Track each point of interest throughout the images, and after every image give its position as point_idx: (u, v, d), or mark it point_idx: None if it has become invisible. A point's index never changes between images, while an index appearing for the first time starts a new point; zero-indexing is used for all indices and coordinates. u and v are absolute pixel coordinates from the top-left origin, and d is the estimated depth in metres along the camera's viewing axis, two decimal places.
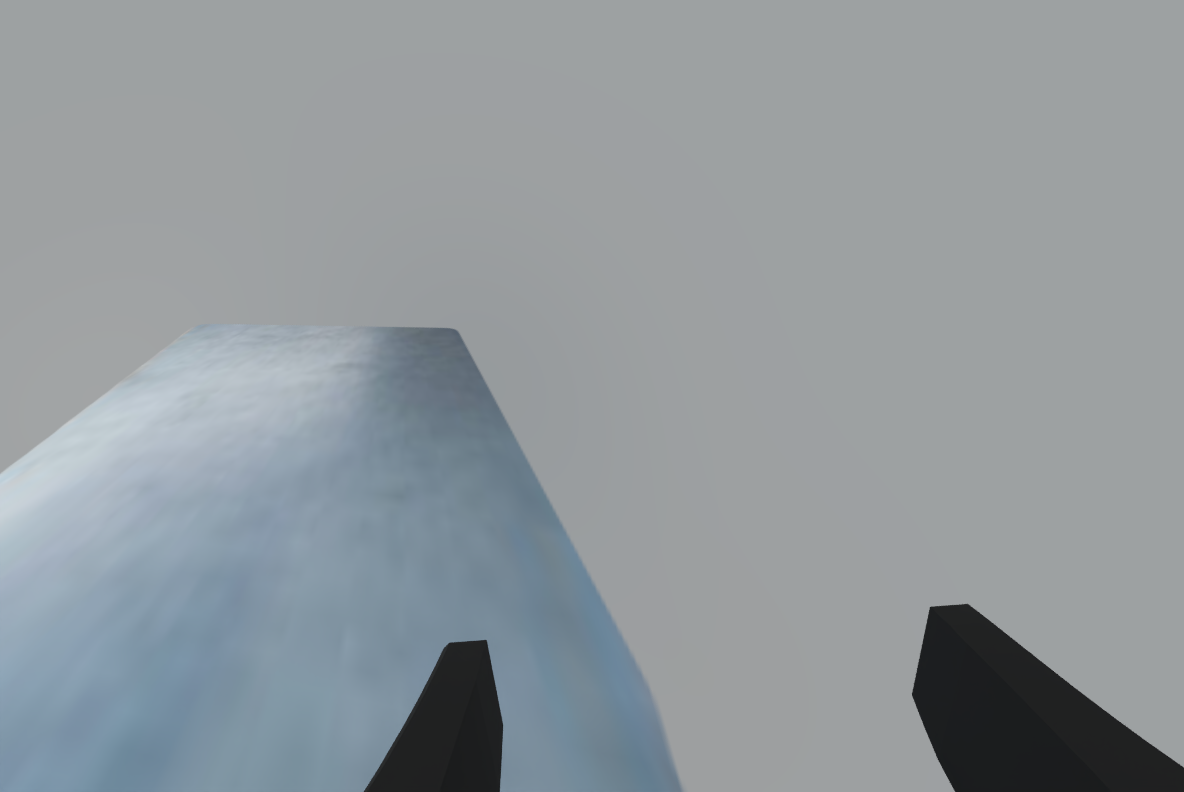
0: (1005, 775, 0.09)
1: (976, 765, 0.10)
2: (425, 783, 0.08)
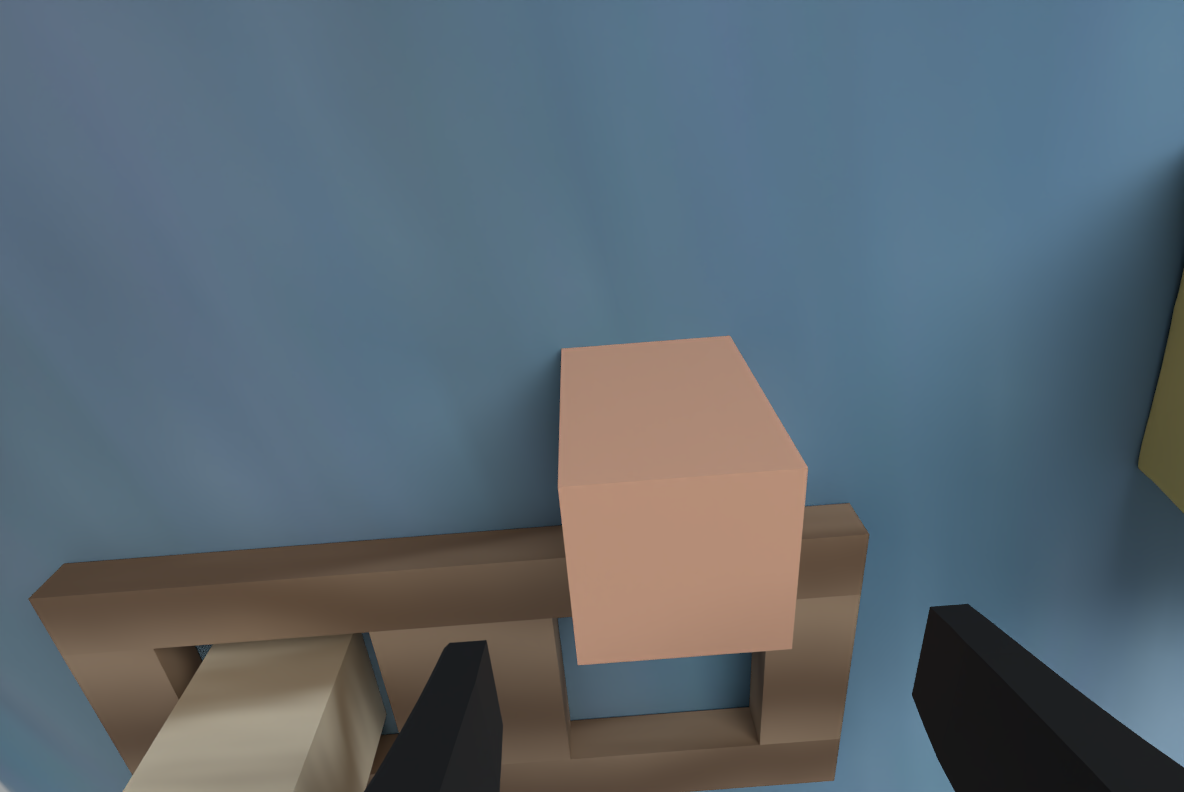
0: (1005, 775, 0.09)
1: (976, 765, 0.10)
2: (425, 783, 0.08)
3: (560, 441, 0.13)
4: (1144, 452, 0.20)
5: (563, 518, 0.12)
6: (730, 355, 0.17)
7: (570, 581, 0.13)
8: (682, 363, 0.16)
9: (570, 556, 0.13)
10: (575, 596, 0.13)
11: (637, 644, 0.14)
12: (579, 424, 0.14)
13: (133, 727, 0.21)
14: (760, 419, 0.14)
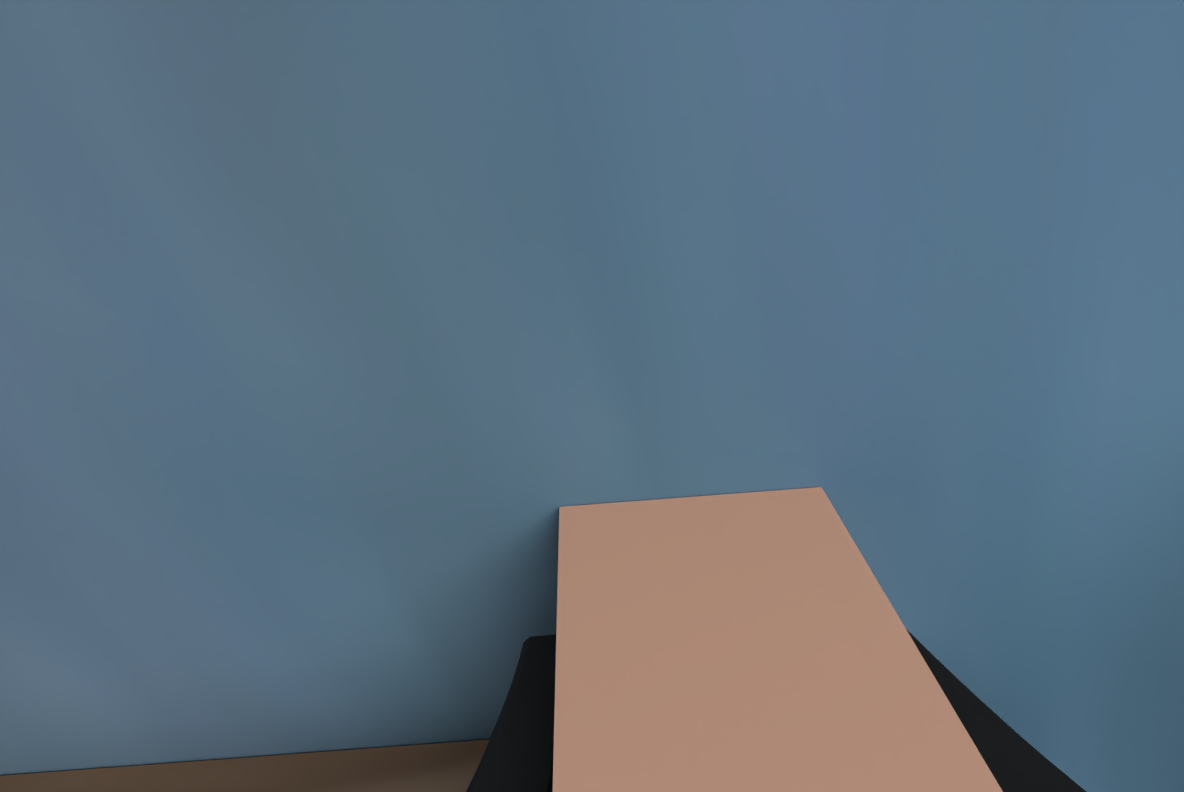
0: None
1: None
2: (532, 775, 0.08)
3: (555, 780, 0.07)
4: None
5: None
6: (832, 536, 0.10)
7: None
8: (756, 553, 0.10)
9: None
10: None
11: None
12: (590, 724, 0.08)
13: None
14: (929, 728, 0.07)
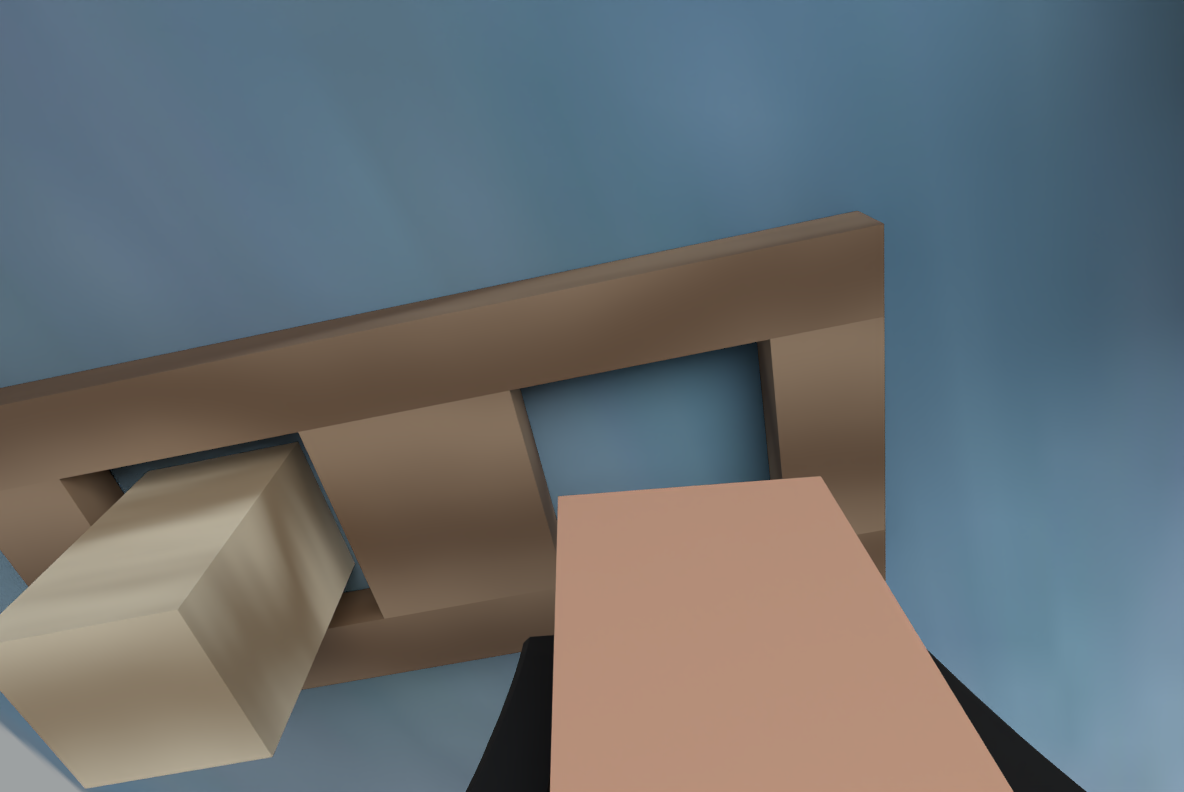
0: None
1: None
2: (532, 775, 0.08)
3: (553, 764, 0.07)
4: None
5: None
6: (831, 524, 0.10)
7: None
8: (755, 541, 0.10)
9: None
10: None
11: None
12: (589, 709, 0.08)
13: None
14: (929, 712, 0.07)
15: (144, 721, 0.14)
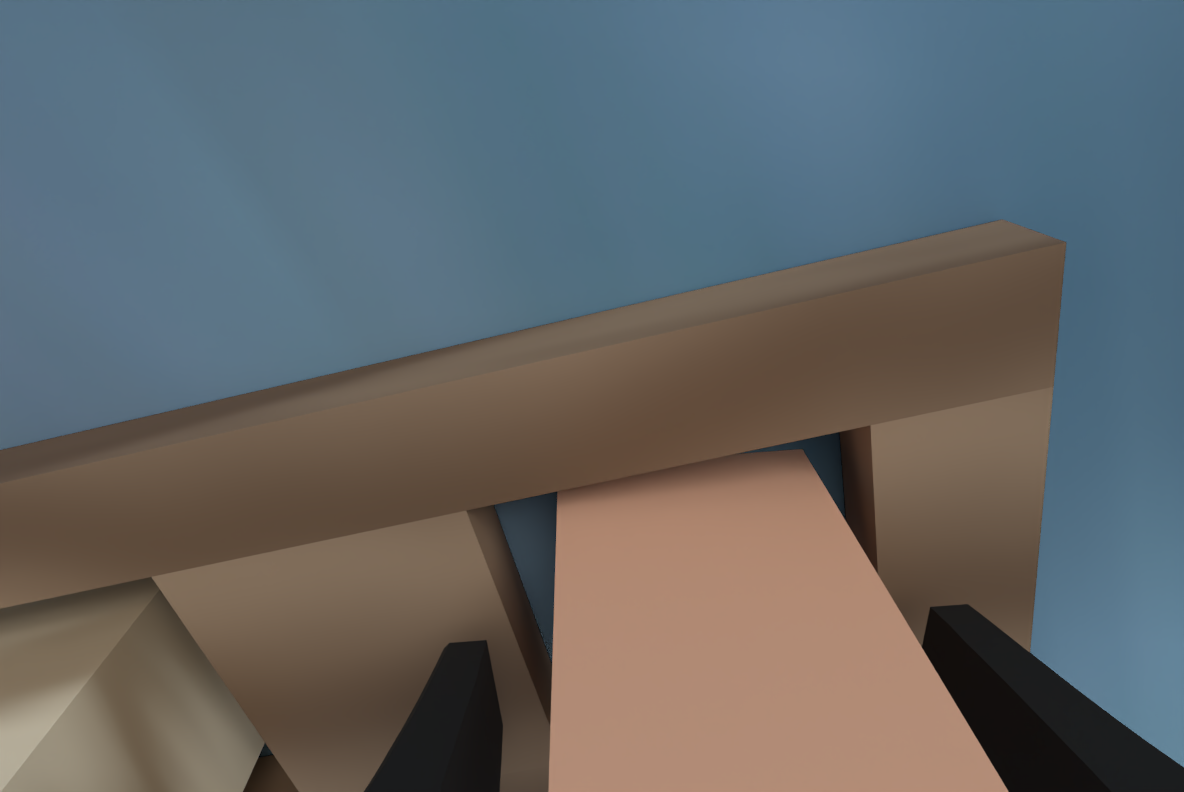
0: (1005, 775, 0.09)
1: None
2: (425, 783, 0.08)
3: (554, 688, 0.08)
4: None
5: None
6: (810, 489, 0.11)
7: None
8: (739, 504, 0.11)
9: None
10: None
11: None
12: (585, 644, 0.09)
13: None
14: (888, 645, 0.08)
15: None
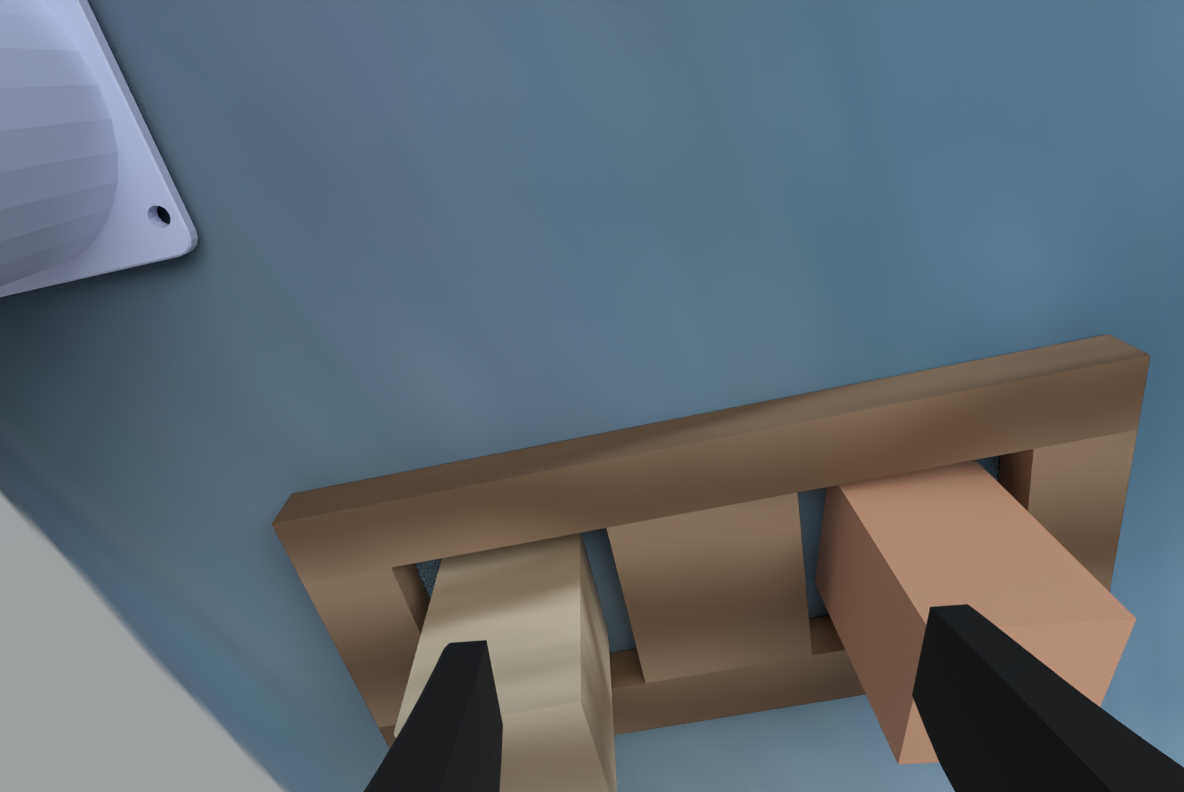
0: (1005, 775, 0.09)
1: (976, 765, 0.10)
2: (425, 783, 0.08)
3: (898, 579, 0.16)
4: None
5: None
6: (991, 485, 0.19)
7: None
8: (952, 492, 0.19)
9: None
10: (914, 711, 0.16)
11: None
12: (903, 560, 0.17)
13: (370, 657, 0.21)
14: (1062, 562, 0.16)
15: (521, 791, 0.17)
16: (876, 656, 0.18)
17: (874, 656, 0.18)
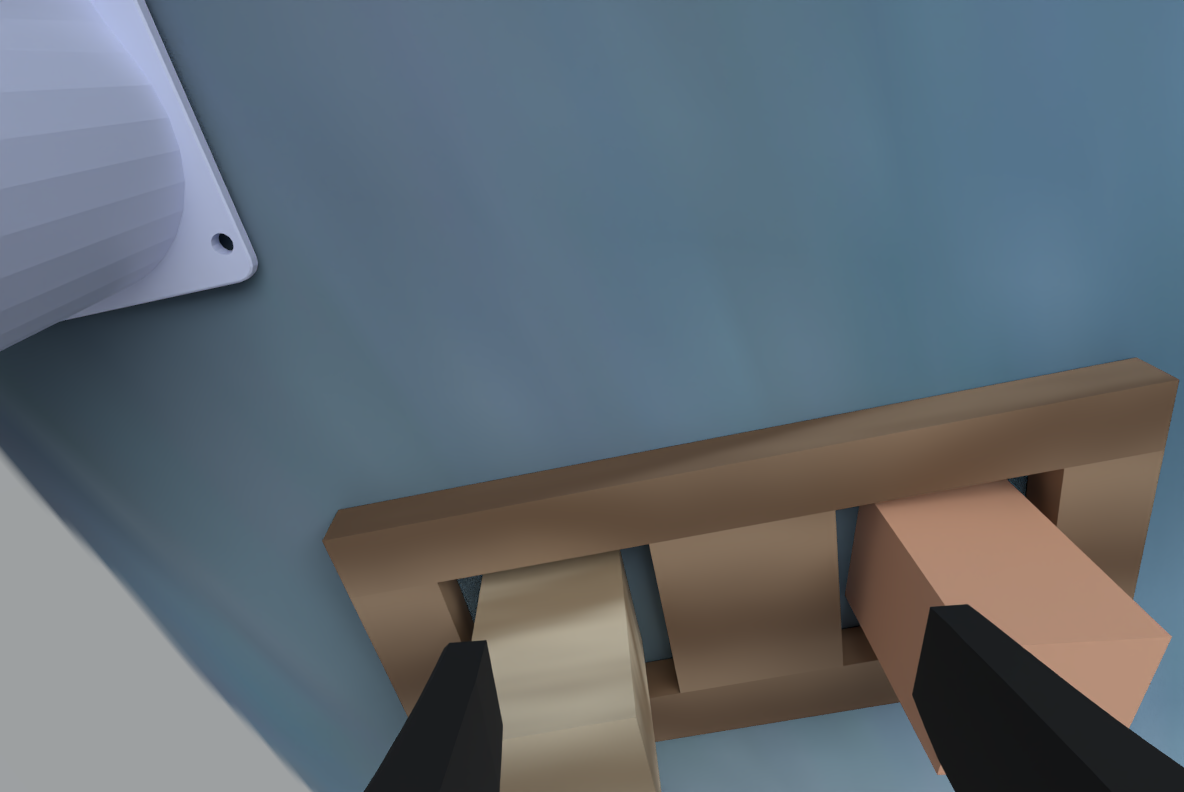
0: (1005, 775, 0.09)
1: (976, 765, 0.10)
2: (425, 783, 0.08)
3: (940, 596, 0.17)
4: None
5: None
6: (1021, 502, 0.20)
7: None
8: (985, 510, 0.20)
9: None
10: None
11: None
12: (943, 578, 0.17)
13: (413, 668, 0.22)
14: (1096, 580, 0.17)
15: None
16: (913, 669, 0.18)
17: (912, 670, 0.18)
